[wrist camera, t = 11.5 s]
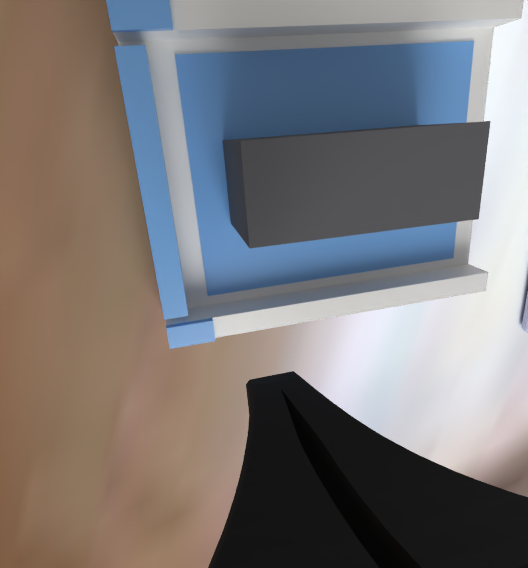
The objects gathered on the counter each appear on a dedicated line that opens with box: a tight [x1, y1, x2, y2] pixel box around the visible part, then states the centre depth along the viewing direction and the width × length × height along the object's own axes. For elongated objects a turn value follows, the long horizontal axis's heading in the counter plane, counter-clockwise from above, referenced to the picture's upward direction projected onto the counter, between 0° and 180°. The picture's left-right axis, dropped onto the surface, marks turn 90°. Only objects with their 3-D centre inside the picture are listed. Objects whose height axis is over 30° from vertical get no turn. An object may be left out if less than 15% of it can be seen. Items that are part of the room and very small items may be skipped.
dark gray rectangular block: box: [222, 121, 490, 248], centre depth 16 cm, size 9×4×4 cm, turn 94°
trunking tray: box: [106, 0, 524, 349], centre depth 16 cm, size 16×25×3 cm, turn 4°
